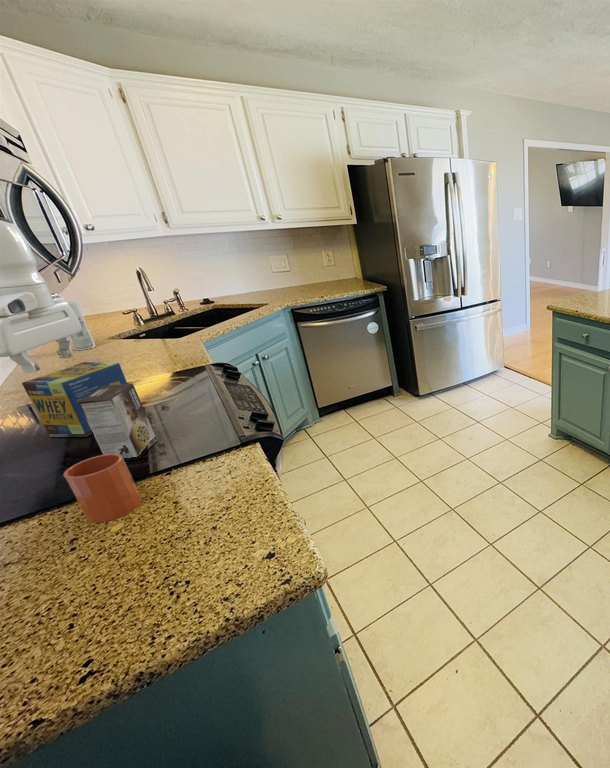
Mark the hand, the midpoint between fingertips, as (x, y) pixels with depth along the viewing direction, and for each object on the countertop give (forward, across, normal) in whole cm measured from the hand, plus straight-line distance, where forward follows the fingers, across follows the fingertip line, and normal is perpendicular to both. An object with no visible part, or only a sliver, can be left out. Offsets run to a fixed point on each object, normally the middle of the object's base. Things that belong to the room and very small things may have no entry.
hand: (50, 364), depth 87 cm
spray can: (+24, -107, -64) cm, 127 cm away
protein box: (+23, -20, -10) cm, 32 cm away
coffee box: (+23, +1, +8) cm, 25 cm away
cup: (+23, +24, +17) cm, 37 cm away
